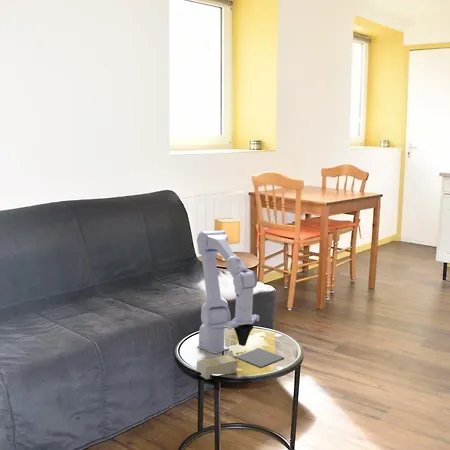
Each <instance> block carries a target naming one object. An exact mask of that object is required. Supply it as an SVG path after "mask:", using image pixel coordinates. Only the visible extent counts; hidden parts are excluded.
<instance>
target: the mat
mask: <svg viewBox="0 0 450 450" xmlns="http://www.w3.org/2000/svg"><path fill="white" fill-rule="evenodd" d="M282 358H284V359H285V356H282V355H279V354H276V353H274V352H271V351H268V350H265V349H263V348H260V347H257V348H255V349H253V350H250V351H247V352H244V353H242V354H239V355H236V356H235V358H234V359H236V360H237V359H238V360H240V361H243V362H245V363H248V364H251V365H253V366H255V367H258V368H260V369H261V368H263V367H267V366H269V365H271V364H273V363H277V362H279V361H281V360H283V359H282ZM280 359H281V360H280ZM278 360H279V361H278Z"/></svg>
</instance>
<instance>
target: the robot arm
mask: <svg viewBox="0 0 450 450" xmlns="http://www.w3.org/2000/svg"><path fill="white" fill-rule="evenodd" d="M197 235H198V236H197V238H196V244H197V251H198V255H201V263H202V268H203V269H202V270H203V271H202V272H203V278H204V286H205V293H206V301H205V302H204V303H203V304H202V305H201V306H200V308H201V309H200V311H201V312H200V313H201V314H200V320H201V323H202V324H201V325H200V327H199V331H198V345H196V347H197V348H199V349H202V350H204V351H207V352H209V353H211V354H213V355H215V354H218V353H222V352H224V351H227V350H229V349H230V347H229V346H226V345H225V340H226V339H225V336H226V329H228V330H230V331H231V330H233V329H234V332H235V335H236V337H237V341H238V342H237V343H238V345H239V346H241V347H245V346H246V345H247V342H248V340H249V337H250V333H251V332H252V330H253V329H254V325H253V324H254V322H259V321H260V315H258V314H253V305H254V304H253V302H254V288H256V287H257V285H258V277H257V275H256V272H255V271H254V270H251V269H248V267H247V266H246V265H245V263H244V262H243V260H242V259H241V257H240V256H238V255H235V253H234V252H233V250H232V249H231V247H230V245H229V242H228V241H229V237H228V234H227V233H226V231H225V230H223V229H220V230H208V231H207V230H206V231H205V230H201V231H200V232H199V233H198V234H197ZM217 254H220V256H221V257H222V258H223V260H224V261H226V263H225V267H226V269H227V270H228V272H229V274H230V275H231V277H232V278H233V279H232V282H233V284H232V285H234V287H233V288H234V294H235V310H234V311H235V312H234V318H232V319H231V312H230V309H229V305H228V302H227V301H225V300H224V299H222V296H221V290H220V288H221V287H220V282H219V281H220V279H219V274H218V273H219V272H218V265H217V260H216V259H217V258H216V257H217Z"/></svg>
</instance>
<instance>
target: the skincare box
mask: <svg viewBox="0 0 450 450" xmlns="http://www.w3.org/2000/svg"><path fill="white" fill-rule="evenodd" d="M237 364H238V360H237V359H236V358H233V357H232V356H231V355H228V354H225V355H224V354H223V355H220V356H219V355H218V356H214V357H211V358H210V357H209V358H205V359H201V360H197V361H196V372H197V371H199V372H200V373H201V375H199V376H200V377H201V378H203V379H205V380H210V379H211V378H210V375H212V374H223V376H226V375H225V374H227V375H230V374H236V373H237V366H238V365H237Z"/></svg>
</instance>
